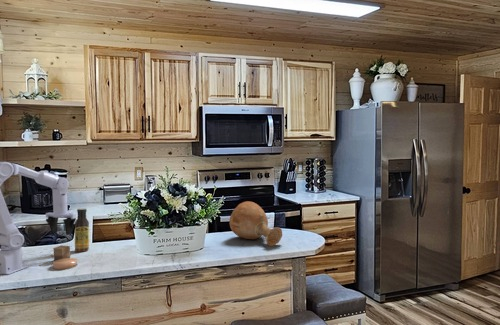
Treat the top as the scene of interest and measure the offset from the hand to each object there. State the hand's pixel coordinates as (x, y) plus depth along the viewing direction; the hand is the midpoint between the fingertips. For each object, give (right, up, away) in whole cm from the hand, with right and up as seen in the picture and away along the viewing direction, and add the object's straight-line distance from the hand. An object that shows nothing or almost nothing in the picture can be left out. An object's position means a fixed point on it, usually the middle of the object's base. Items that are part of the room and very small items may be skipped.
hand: (61, 233), depth 177 cm
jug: (+87, -8, +22) cm, 90 cm away
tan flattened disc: (+8, -11, -13) cm, 19 cm away
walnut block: (+3, -11, -6) cm, 12 cm away
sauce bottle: (+5, -10, +9) cm, 14 cm away
